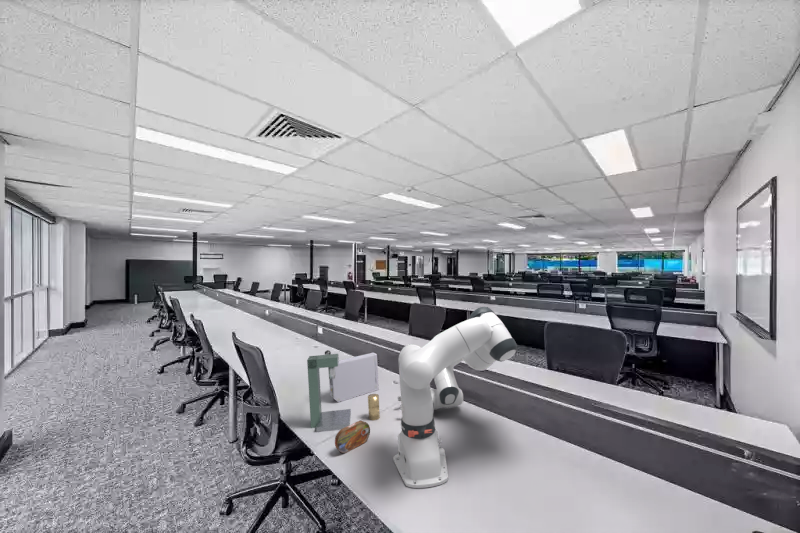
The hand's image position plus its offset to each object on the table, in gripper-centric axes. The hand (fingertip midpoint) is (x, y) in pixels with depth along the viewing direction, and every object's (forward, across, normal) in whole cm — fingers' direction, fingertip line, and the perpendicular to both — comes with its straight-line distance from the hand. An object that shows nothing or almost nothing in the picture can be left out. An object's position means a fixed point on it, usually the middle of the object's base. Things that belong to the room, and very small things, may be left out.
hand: (399, 403), depth 143 cm
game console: (+21, -28, +6) cm, 35 cm away
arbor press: (+31, -4, +6) cm, 32 cm away
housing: (+12, 0, +6) cm, 13 cm away
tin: (+21, +21, +6) cm, 30 cm away
